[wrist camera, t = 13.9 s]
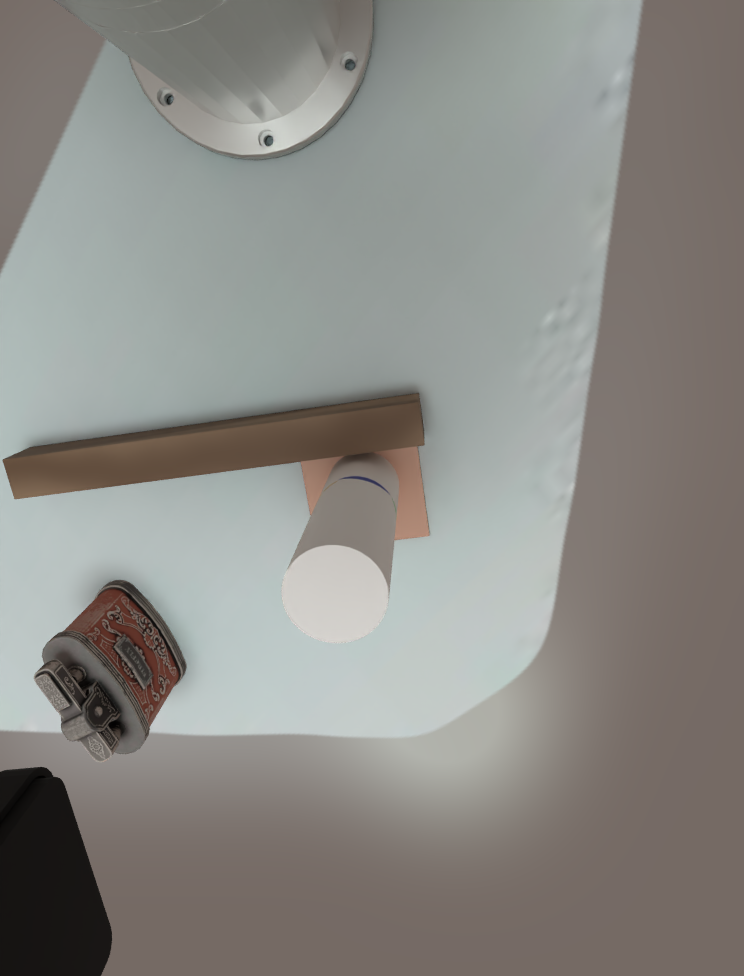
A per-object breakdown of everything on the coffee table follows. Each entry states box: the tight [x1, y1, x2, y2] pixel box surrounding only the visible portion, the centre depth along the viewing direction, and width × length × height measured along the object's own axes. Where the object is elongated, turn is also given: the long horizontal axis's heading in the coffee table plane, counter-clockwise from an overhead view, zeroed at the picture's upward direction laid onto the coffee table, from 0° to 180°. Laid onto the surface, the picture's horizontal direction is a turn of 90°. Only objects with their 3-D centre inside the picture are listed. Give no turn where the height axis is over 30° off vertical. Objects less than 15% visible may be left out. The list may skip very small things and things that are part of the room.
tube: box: [281, 452, 399, 643], centre depth 35 cm, size 4×4×15 cm
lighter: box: [34, 580, 186, 762], centre depth 42 cm, size 8×3×10 cm, turn 29°
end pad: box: [301, 446, 429, 540], centre depth 43 cm, size 6×7×1 cm
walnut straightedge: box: [3, 393, 424, 499], centre depth 41 cm, size 2×24×3 cm, turn 98°
